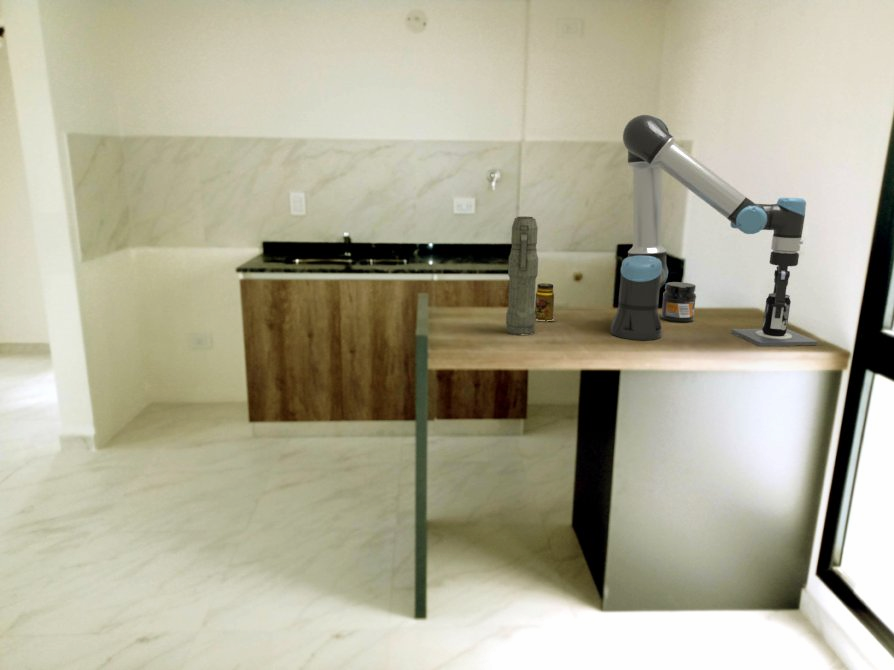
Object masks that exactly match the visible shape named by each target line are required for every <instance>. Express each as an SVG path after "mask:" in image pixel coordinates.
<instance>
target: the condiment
mask: <svg viewBox="0 0 894 670" xmlns="http://www.w3.org/2000/svg"><path fill="white" fill-rule="evenodd" d="M554 304H555V293H554V284H552V283H542V282H540V283H538V284H537V289H536V291H535V305H534V310H535V314H536V319H538V320H545V321H547V320H552V319H553V316H554V309H555V307H554Z"/></svg>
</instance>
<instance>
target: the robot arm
mask: <svg viewBox="0 0 894 670" xmlns="http://www.w3.org/2000/svg"><path fill="white" fill-rule="evenodd" d="M622 141H623V145H624V147H625V148H626V149H627V164H628V165H629V166H630V167H631V169H632V247H631V248H630V249H629V250H628V251H627V257H626V258H624V259H623V260H622V262H621V266H620V282H619V292H618V293H619V295H618V304H617V305H618V307H617V311H616V313H615V315H614V318H613V320H612V322H611V325H610V333H611V334H612V335H613V336H615V337H617V338H621V339H627V340H634V341H635V340H637V341H650V340H652V341H653V340H656V339H660V338H661V337H662V332H663V328H662V325H661V319H660V316H659V311H658V310H659V302H660V301H659V299H660V291H661V288H662V287H664V285H666V282H667V280H668V275H669V269H668V266H667V250H666V249H665V247H664V246H663V245H662V205H663V204H662V202H663V201H662V198H663V197H662V194H663V193H662V192H663V191H662V189H663V187H662V186H663V184H662V182H663V171H664V172H666V173H667V174H668V175H670V176H671V177H672V178H673V179H675V180H676V181H678V183H680V184H681V185H683V186H684V187H685V188H686V189H688V190H689V191H691V192H692V193H693V194H694V195H696V196H697V197H698V198H699V199H701V200H702V201H704V202H705V204H707V205H708V206H710V207H712V209H714V210H715V211H716V212H718V213H719V214H721V215H722V216H723V217H724V218H726V219H727V220H728V221H730V227H731V229H737V230H739V231H740V232H742V233H743V234H746V235H754V234H757V233H759V232H760V231H773V234H772V240H771V246H770V247H771V248H770V249H771V252H770V255H769V264H770V265H773V266H776V270H774V274H773V275H774V278H773V282H774V285H773V292H772V293H776V294H775V303H774V304H772V305H771V307H773V313H772V321H771V328H772V329H781V324H782V317H783V310H784V306H785V296H786V295H787V288H788V285H789V279H790V276H791V272H790V270H789V269H788V268H789V267H797V265H798V264H799V259H800V258H799V257H800V253H798V252H799V251H800V249H801V245H803V244H804V241H803V240H802V238H803V237H802V235H803V230H804V224H805V217H806V207H807V201H806V200H805V199H804V198H802V197H779V198H777V202H776V203H773V204H772V203H771V204H769V203H768V204H767V203H756V202H753V201H752V200H751V199H750V198H749V197H747V196H746V195H745V194H743V193H741V192H740V191H739V190H738V189H736V188H735V187H733V185H731V184H730V183H729V182H727V181H726V180H725V179H724V178H723V177H720V176H719V175H718V174H716V172H714V171H712V170H711V169H710V168H709V167H707V166H706V164H703V163H702V162H701V161H700V160H698V159H697V158H696V157H694V156H693V155H691V154H690V153H689V152H687V151H686V150H685V149H684V148H683V147H681V146H680V145H678V143H676V142H675V137H674V136H673V135H672V134H670V132H669V128H668V126H667V124H666V123H665V122H664V121H663V120H662V119H660V118H658V117H655V116H652V115H650V114H641V115H637V116H635V117H633V118H632V119H630V120H629V121H628V122H627V124H626V125H625V127H624V129H623V133H622Z"/></svg>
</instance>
